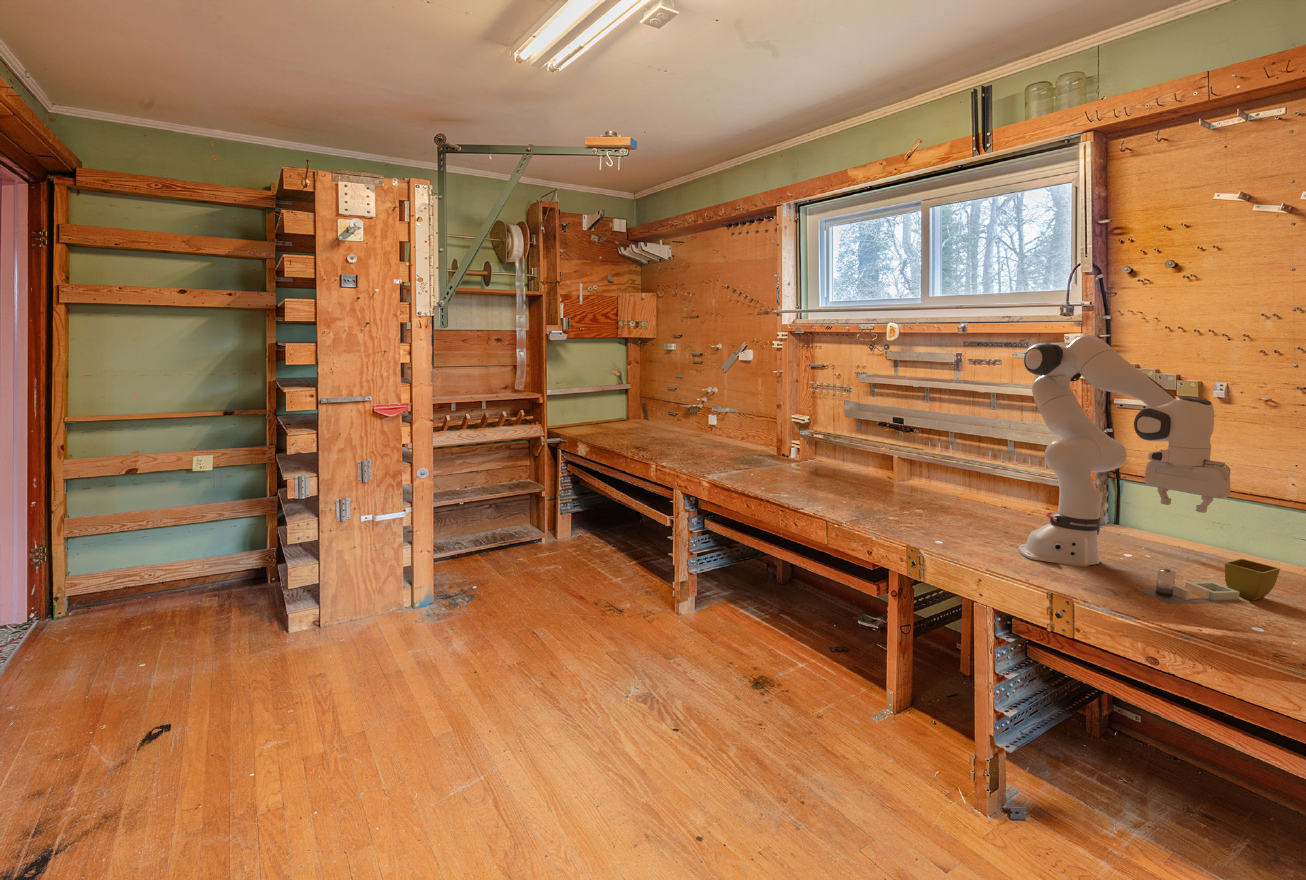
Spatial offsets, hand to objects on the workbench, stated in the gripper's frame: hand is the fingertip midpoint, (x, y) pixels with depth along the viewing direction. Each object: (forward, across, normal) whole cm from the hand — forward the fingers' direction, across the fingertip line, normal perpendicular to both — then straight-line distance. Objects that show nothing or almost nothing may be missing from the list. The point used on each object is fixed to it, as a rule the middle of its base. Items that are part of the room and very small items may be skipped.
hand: (1182, 508), depth 174 cm
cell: (+24, -2, +6) cm, 24 cm away
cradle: (+25, -2, -1) cm, 25 cm away
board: (+25, -2, -2) cm, 25 cm away
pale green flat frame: (+25, -3, -9) cm, 27 cm away
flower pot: (+25, -4, -20) cm, 32 cm away
